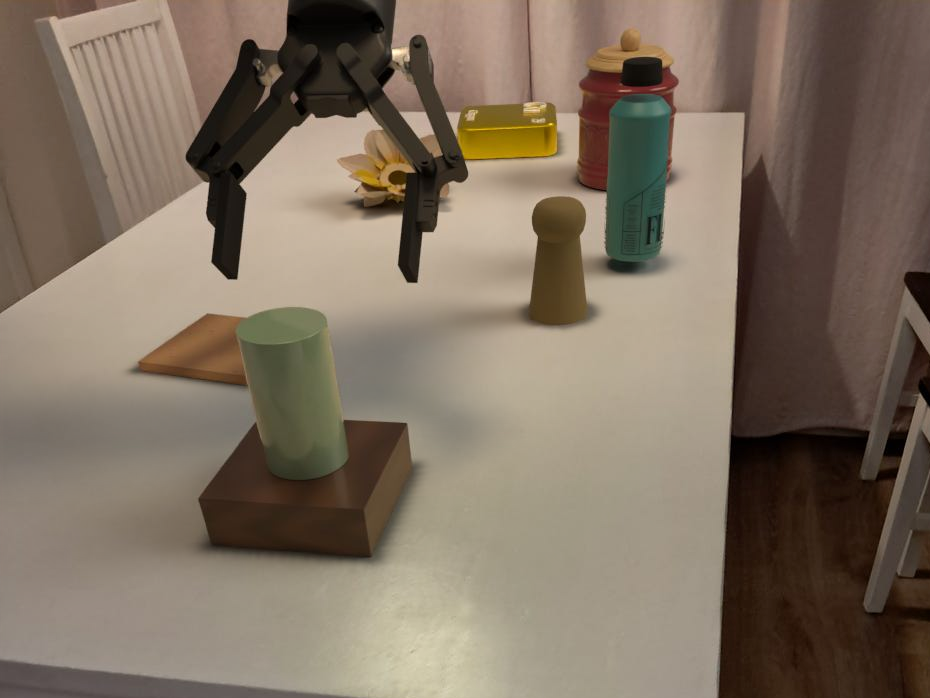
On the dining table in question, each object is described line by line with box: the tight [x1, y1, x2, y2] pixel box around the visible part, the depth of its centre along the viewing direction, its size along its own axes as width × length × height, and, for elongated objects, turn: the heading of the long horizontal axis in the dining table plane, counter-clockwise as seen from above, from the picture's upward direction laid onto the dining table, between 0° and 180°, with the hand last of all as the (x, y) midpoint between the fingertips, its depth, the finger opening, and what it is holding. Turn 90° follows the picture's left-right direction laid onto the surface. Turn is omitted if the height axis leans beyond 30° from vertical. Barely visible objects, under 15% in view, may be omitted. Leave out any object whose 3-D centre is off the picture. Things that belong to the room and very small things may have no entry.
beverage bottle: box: [603, 57, 671, 262], centre depth 97 cm, size 6×7×20 cm
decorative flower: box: [336, 128, 450, 208], centre depth 121 cm, size 15×11×10 cm
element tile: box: [456, 101, 558, 161], centre depth 143 cm, size 15×15×5 cm
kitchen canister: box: [576, 28, 680, 191], centre depth 122 cm, size 13×13×18 cm
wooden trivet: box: [137, 312, 248, 386], centre depth 91 cm, size 12×12×1 cm
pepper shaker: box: [528, 195, 588, 326], centre depth 91 cm, size 6×6×11 cm
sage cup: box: [236, 306, 349, 480], centre depth 64 cm, size 6×6×10 cm
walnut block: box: [197, 419, 413, 558], centre depth 68 cm, size 12×12×4 cm
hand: (314, 273), depth 65 cm, fingers open, 13 cm apart
